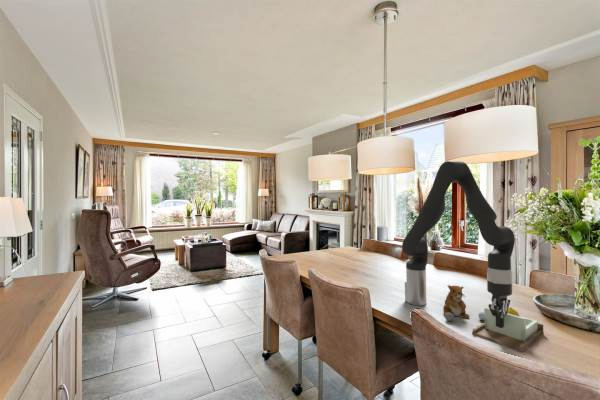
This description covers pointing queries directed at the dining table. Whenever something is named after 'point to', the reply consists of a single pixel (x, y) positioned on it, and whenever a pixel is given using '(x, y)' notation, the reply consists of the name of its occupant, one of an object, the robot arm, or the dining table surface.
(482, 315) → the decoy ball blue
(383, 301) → the dining table surface
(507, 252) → the robot arm
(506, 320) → the pale green block
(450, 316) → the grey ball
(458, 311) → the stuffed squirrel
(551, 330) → the dining table surface
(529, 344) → the rail board
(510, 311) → the lemon
